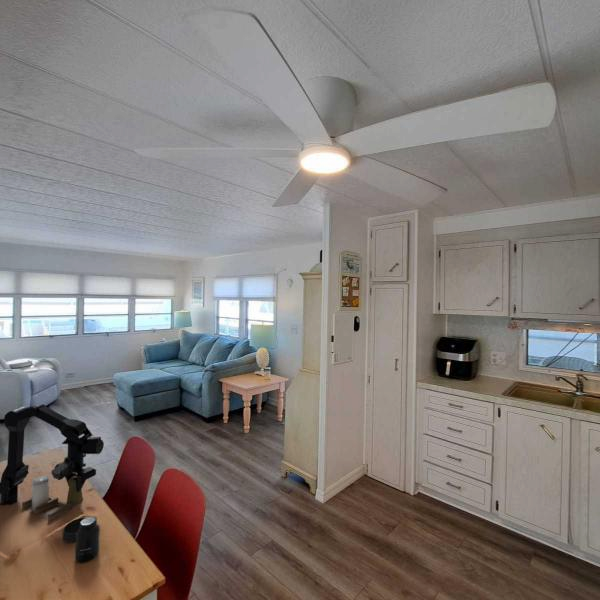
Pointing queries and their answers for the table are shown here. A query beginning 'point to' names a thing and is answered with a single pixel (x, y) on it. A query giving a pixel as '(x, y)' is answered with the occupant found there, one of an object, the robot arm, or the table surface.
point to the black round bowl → (71, 530)
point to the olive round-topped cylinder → (73, 492)
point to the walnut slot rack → (48, 508)
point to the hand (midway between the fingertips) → (74, 490)
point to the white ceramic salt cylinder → (40, 491)
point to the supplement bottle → (87, 540)
